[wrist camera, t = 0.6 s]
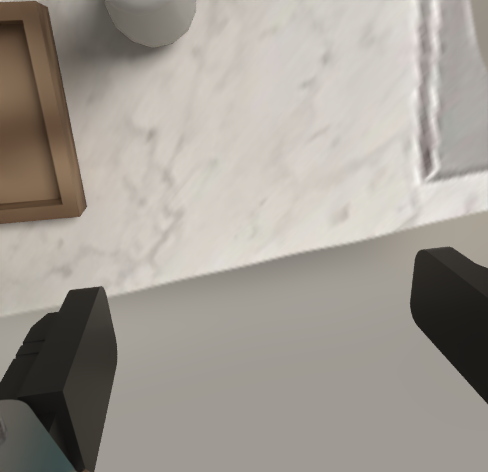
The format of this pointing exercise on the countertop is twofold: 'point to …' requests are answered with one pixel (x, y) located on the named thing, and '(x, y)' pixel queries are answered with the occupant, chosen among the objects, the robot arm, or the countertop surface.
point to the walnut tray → (34, 122)
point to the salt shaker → (152, 19)
